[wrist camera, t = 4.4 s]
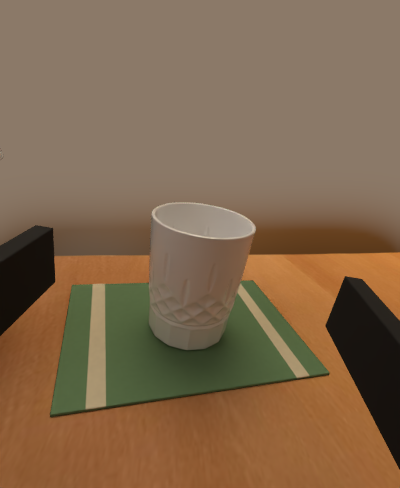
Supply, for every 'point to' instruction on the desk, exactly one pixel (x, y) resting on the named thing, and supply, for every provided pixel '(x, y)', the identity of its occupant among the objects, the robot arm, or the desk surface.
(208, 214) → the white cup
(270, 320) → the cloth
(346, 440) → the desk surface
